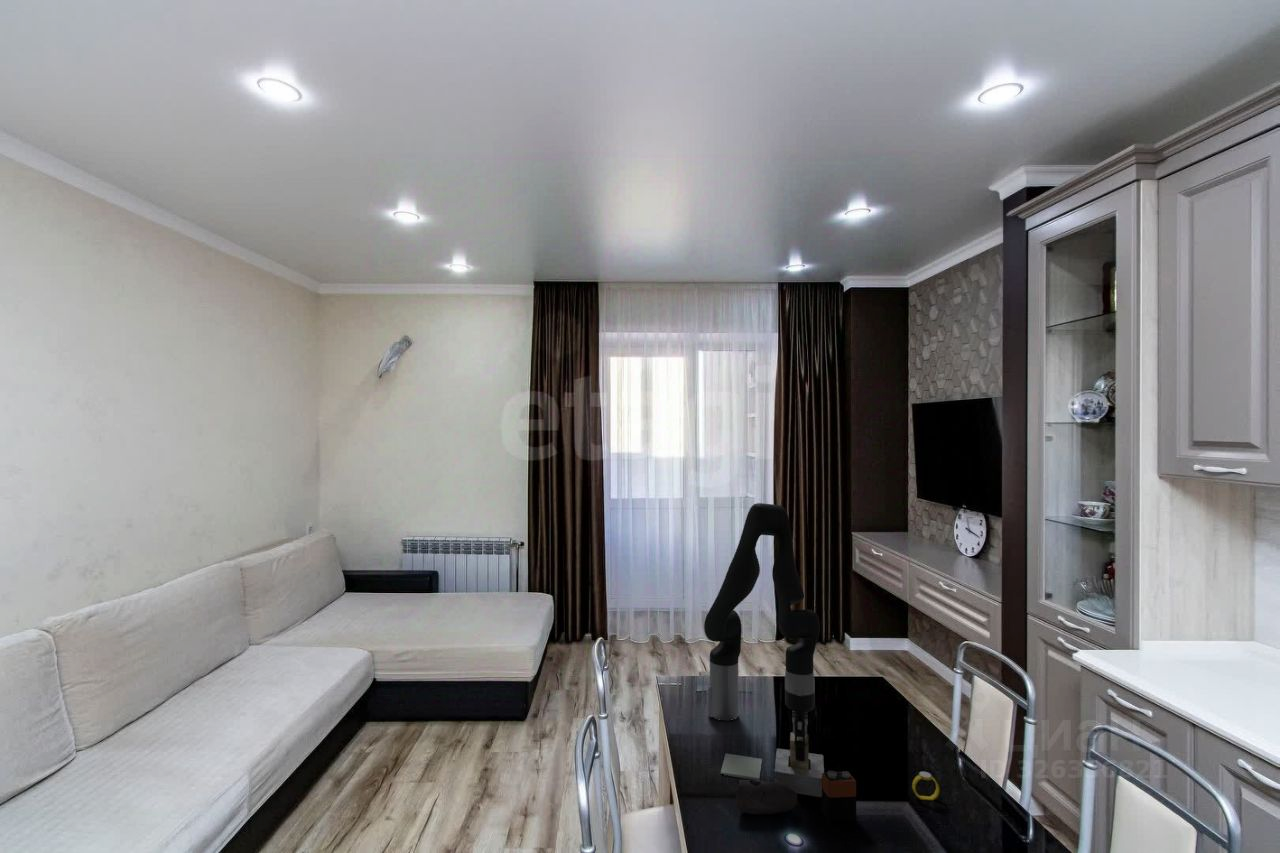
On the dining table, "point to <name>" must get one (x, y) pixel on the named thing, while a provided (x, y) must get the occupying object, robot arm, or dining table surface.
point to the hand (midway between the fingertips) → (800, 752)
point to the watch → (926, 777)
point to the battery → (838, 796)
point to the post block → (799, 774)
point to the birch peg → (793, 761)
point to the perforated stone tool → (764, 797)
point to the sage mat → (741, 766)
